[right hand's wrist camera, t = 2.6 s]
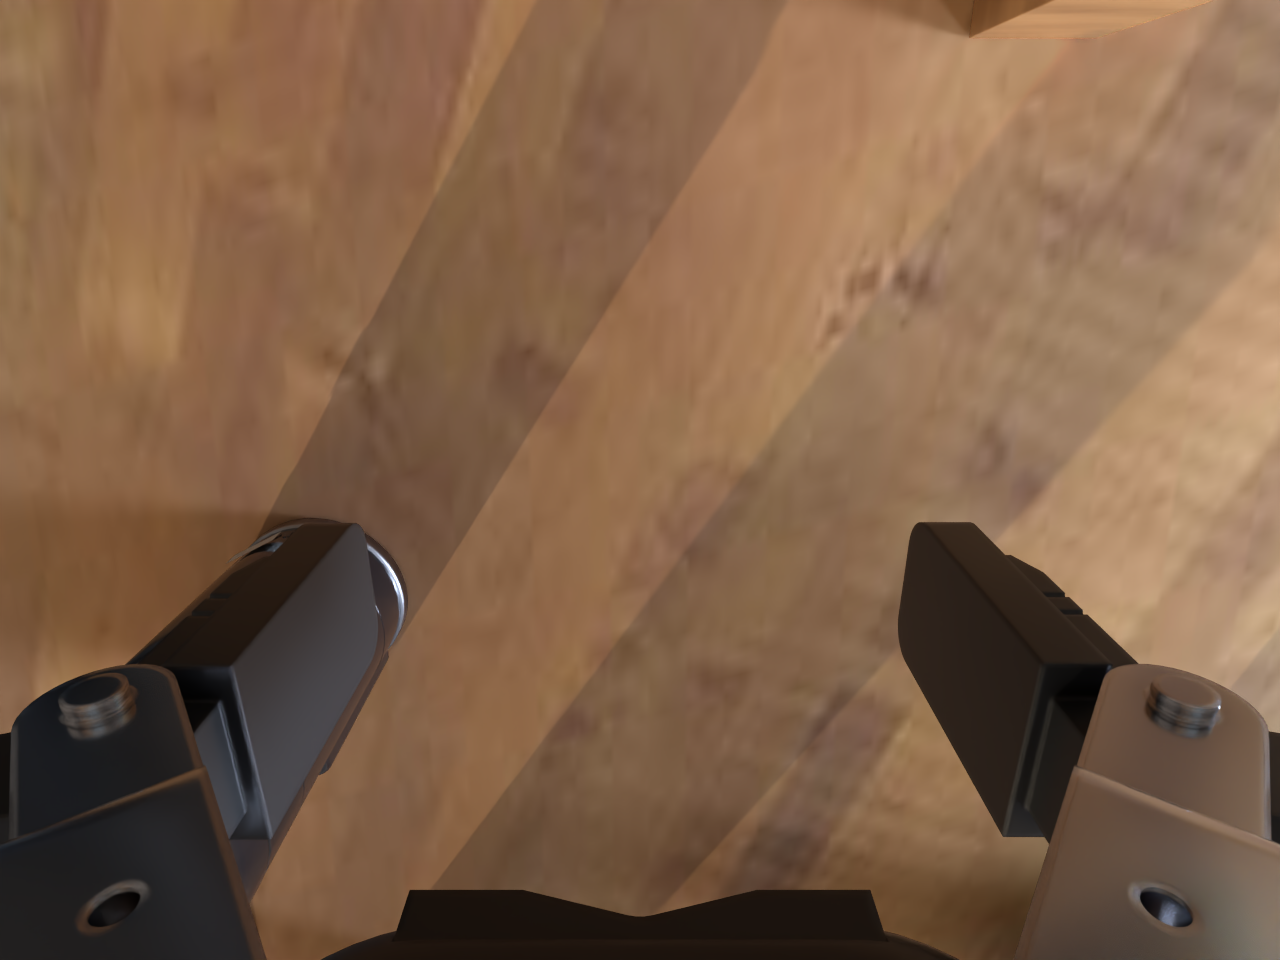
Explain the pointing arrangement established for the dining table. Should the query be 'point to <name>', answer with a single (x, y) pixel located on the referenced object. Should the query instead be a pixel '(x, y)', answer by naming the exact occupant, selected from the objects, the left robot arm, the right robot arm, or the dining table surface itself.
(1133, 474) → the dining table surface
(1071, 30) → the bar
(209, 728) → the right robot arm
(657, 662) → the dining table surface
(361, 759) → the dining table surface
